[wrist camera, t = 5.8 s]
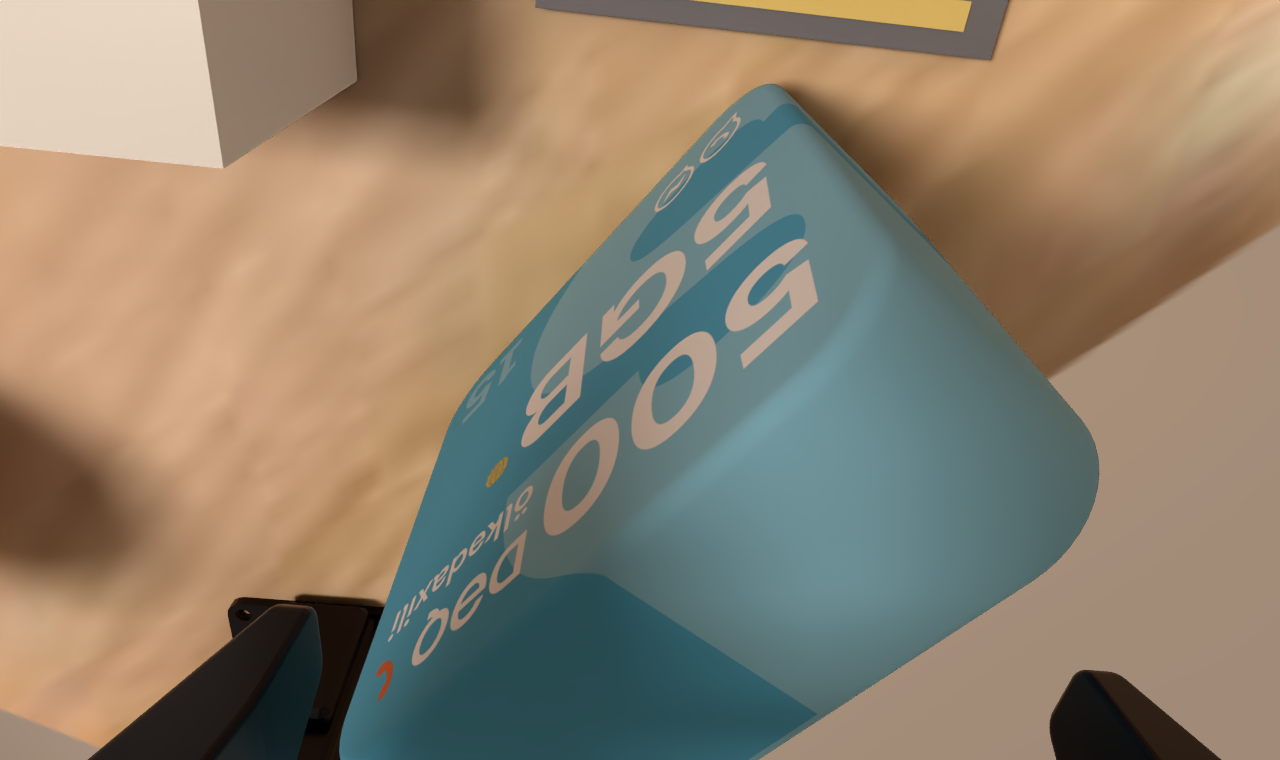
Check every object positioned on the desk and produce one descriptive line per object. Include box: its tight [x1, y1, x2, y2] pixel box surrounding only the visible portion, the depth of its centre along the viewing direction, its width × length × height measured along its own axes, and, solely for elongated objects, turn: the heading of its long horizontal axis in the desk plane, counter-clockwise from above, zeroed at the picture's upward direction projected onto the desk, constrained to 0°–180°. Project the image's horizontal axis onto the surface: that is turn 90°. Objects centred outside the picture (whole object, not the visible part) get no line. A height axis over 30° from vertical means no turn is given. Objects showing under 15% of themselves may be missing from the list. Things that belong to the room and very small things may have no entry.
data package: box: [339, 84, 1099, 760], centre depth 16 cm, size 12×4×12 cm, turn 138°
